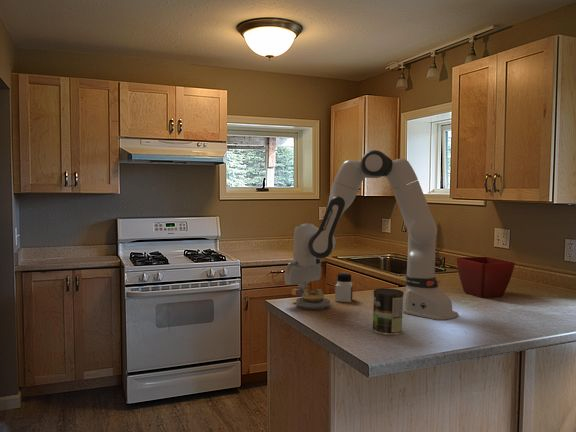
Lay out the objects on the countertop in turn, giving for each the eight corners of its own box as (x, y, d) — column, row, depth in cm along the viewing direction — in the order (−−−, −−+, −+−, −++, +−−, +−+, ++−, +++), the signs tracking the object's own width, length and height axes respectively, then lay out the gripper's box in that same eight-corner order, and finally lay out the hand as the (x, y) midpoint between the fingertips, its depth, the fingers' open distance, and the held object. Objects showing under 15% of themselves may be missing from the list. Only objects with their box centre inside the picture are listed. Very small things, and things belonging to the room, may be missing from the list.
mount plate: (336, 307, 207) (336, 300, 207) (311, 312, 198) (311, 305, 198) (314, 300, 218) (314, 294, 218) (289, 305, 209) (289, 298, 209)
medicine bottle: (351, 302, 217) (351, 275, 216) (334, 301, 218) (335, 274, 217) (352, 299, 224) (353, 272, 223) (336, 298, 225) (337, 271, 224)
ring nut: (328, 299, 208) (328, 291, 208) (313, 302, 202) (313, 293, 202) (300, 293, 220) (300, 285, 219) (286, 296, 213) (286, 287, 213)
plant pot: (514, 297, 233) (516, 261, 232) (482, 300, 226) (484, 263, 225) (484, 289, 251) (485, 256, 250) (454, 291, 244) (455, 257, 243)
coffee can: (376, 335, 169) (377, 294, 168) (369, 327, 179) (370, 288, 178) (406, 335, 169) (407, 294, 169) (397, 326, 180) (398, 288, 179)
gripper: (292, 264, 205) (292, 297, 205) (323, 259, 220) (323, 290, 220) (281, 262, 209) (281, 294, 210) (312, 257, 224) (312, 288, 225)
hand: (302, 292), depth 215 cm, fingers closed
